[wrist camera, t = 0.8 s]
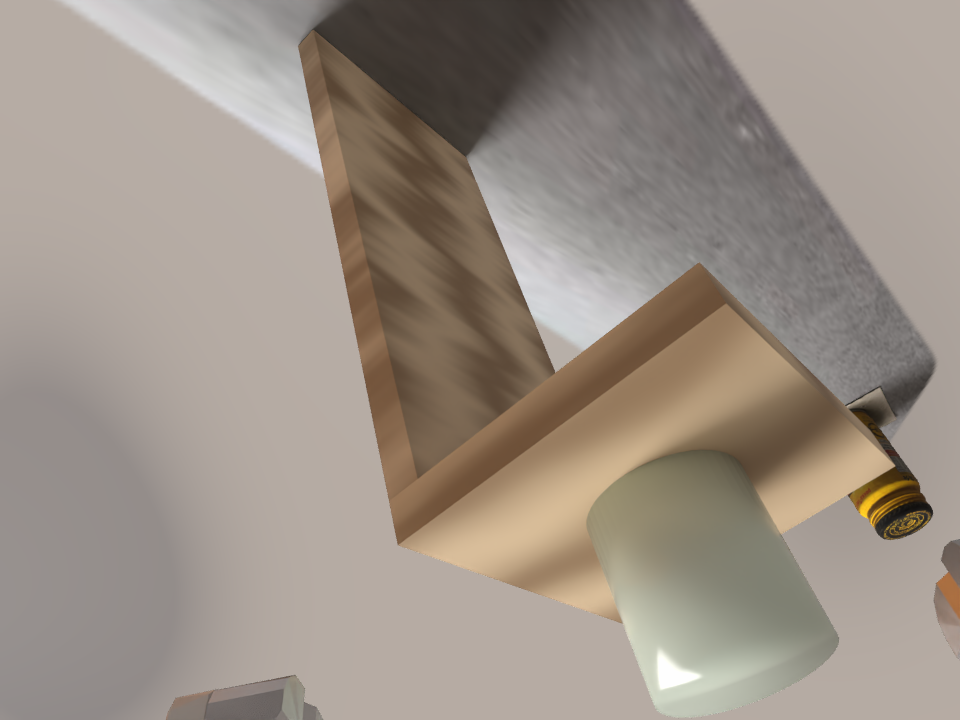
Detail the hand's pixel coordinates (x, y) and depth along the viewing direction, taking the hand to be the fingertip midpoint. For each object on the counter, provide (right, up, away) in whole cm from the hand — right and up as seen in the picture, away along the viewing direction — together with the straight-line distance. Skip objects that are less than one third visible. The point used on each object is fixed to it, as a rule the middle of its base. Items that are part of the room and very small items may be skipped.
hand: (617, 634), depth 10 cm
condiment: (+36, -3, +74) cm, 82 cm away
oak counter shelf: (-3, +21, +35) cm, 41 cm away
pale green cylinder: (+4, -1, +15) cm, 15 cm away
